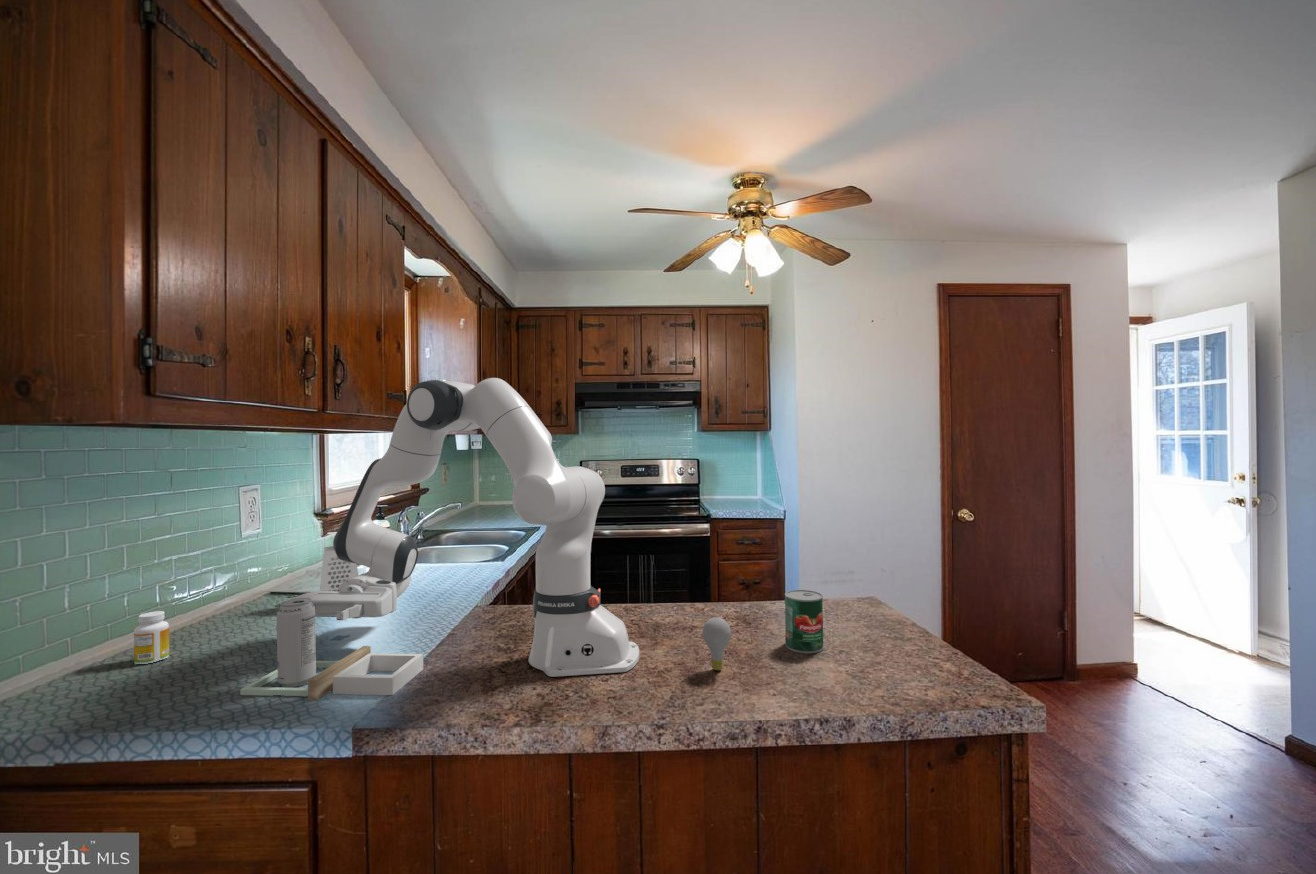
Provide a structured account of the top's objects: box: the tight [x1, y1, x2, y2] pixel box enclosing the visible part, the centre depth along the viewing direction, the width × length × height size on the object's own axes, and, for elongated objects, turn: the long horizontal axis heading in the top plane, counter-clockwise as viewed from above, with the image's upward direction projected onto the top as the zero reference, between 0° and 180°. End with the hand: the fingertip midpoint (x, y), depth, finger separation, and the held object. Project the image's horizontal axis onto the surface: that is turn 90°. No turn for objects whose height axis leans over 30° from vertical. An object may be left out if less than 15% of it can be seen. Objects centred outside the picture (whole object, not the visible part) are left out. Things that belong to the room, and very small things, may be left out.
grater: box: [319, 531, 359, 591], centre depth 154 cm, size 10×10×20 cm
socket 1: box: [239, 660, 339, 697], centre depth 104 cm, size 13×13×1 cm
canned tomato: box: [784, 589, 825, 654], centre depth 118 cm, size 8×8×11 cm
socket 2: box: [332, 652, 424, 696], centre depth 103 cm, size 11×11×3 cm
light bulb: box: [702, 617, 732, 672], centre depth 106 cm, size 6×5×10 cm
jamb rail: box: [307, 645, 372, 701], centre depth 104 cm, size 2×16×4 cm, turn 176°
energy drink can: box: [276, 598, 317, 688], centre depth 103 cm, size 6×6×15 cm
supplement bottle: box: [133, 610, 170, 665], centre depth 115 cm, size 5×5×10 cm
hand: (316, 616), depth 109 cm, fingers open, 8 cm apart
